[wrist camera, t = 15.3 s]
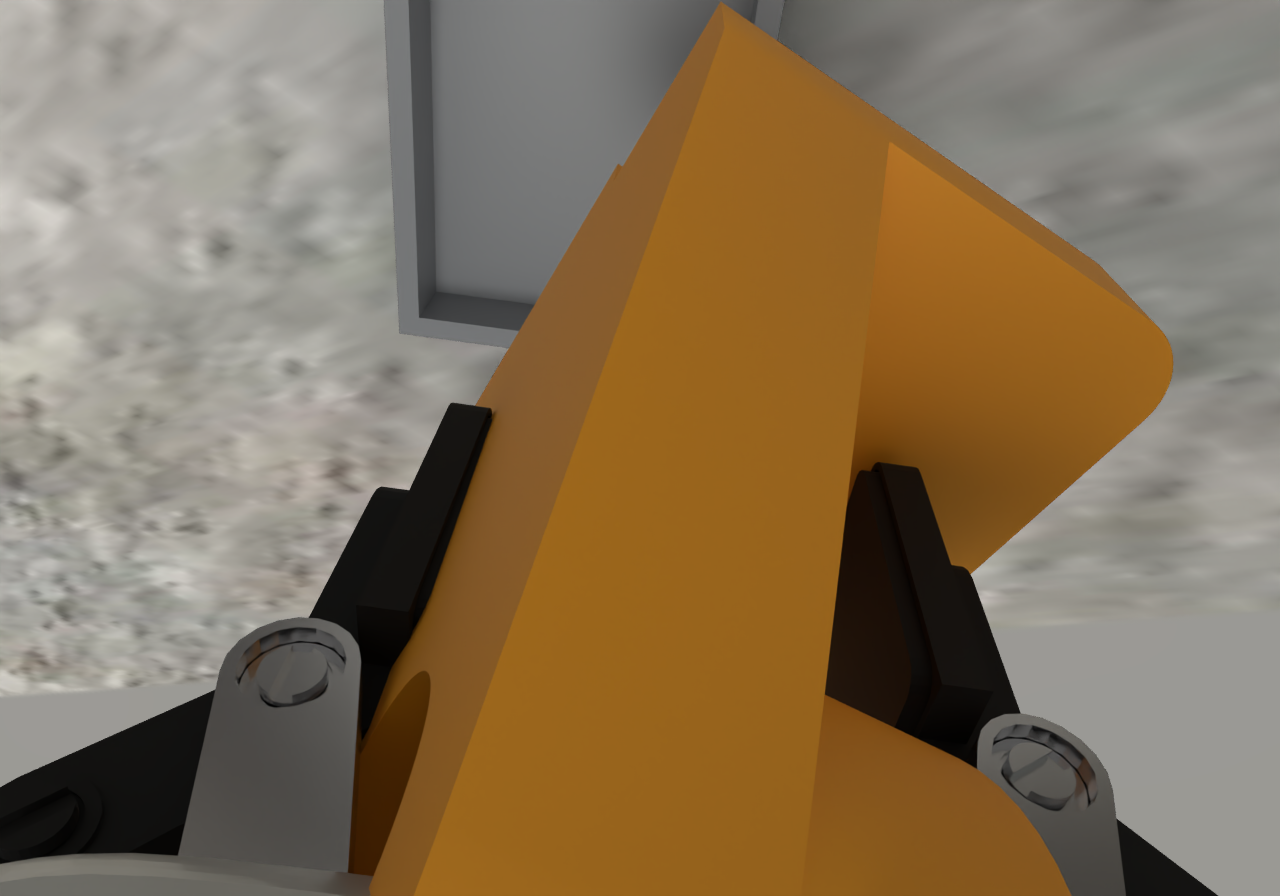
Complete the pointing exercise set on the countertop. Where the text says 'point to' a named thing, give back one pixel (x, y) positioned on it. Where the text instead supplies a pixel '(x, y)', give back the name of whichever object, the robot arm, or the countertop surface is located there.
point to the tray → (517, 139)
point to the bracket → (739, 513)
